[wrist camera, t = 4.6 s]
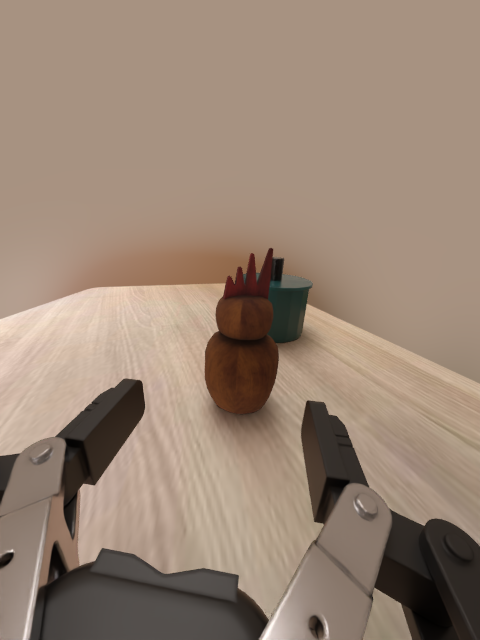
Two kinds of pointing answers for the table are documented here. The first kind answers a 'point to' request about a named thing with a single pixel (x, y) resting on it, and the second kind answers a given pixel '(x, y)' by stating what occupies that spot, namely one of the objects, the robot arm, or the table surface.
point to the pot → (287, 314)
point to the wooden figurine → (243, 343)
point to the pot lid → (284, 278)
